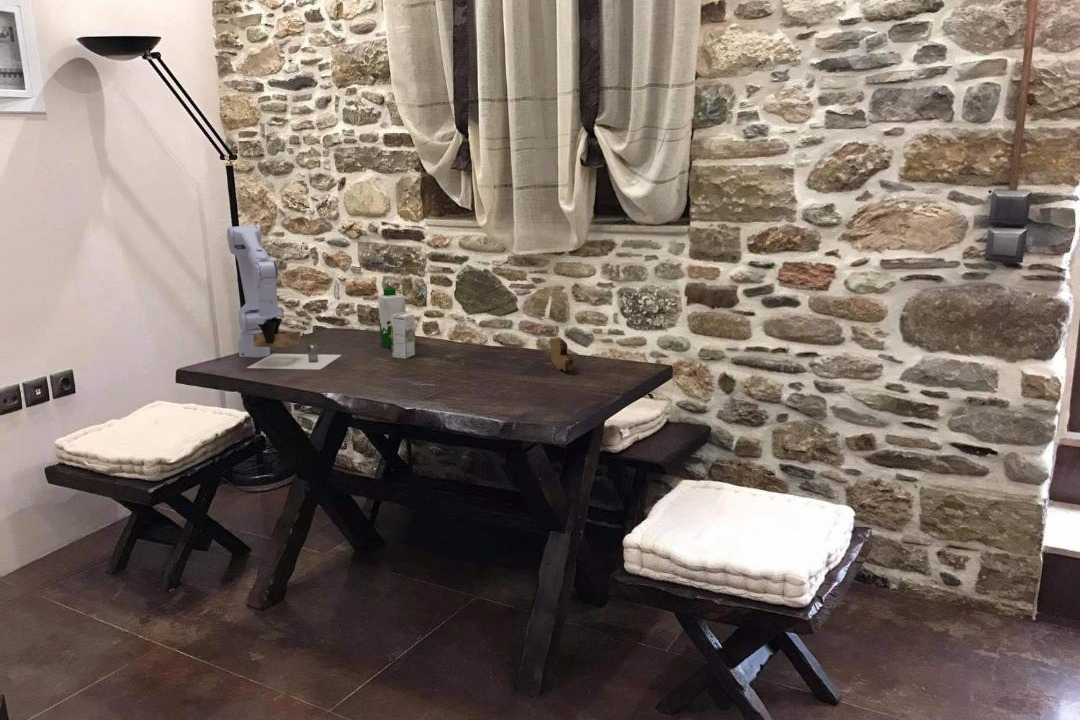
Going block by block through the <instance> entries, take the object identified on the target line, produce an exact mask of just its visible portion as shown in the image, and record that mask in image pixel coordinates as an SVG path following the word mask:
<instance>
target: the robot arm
mask: <svg viewBox="0 0 1080 720" xmlns="http://www.w3.org/2000/svg"><path fill="white" fill-rule="evenodd" d="M226 230H227V231H226V236H227V237H226V238H227V243H228V248H229V251H230V254H232V255H234V256H235V258H236V260H237V263H238V268H239V270H238V271H239V275H240V279H241V285H242V290H243V295H244V301H245V303H244V305H242V307H240V309H239V310H238V323H239V327H240V328H239V329H240V330H241V332H240V333H239V335H238V338H237V346H238V355H239V358H263V357H264V358H266V357H268V356H269V355H271V349H270V348H271V347H254V337H253V334H257V333H261V332H263V335H264V338H265V341H266V343H274V334H278V331H280V329H279V328H280V325H281V324H282V321H283V320H282V319H283V318H280V317H282V316H283V313H282V309H279V301H278V291H277V290H278V289H277V279H278V277H279V269H278V265H277V262H276V260H275V259H271V258H270V256H269V254H268V253H267V250H266V249H265V248H263V247H261V241H262V232H261V228H260V227H259V225H257V224H255V225H243V226H238V225H237V226H231V225H230V226H228V228H227V229H226Z"/></svg>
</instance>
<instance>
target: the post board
mask: <svg viewBox="0 0 1080 720" xmlns="http://www.w3.org/2000/svg"><path fill="white" fill-rule="evenodd" d="M341 356H342V354H319V352H318V345H317V344H308V345H307V353H270V355H268V356H265V357H264V358H262V359H261V360H259V361H257V362H255V363H253V364H251V365H249V366H247V367H246V369H271V370H272V369H277V370H281V369H282V370H321V369H323V368H325V367H326V366H327V365H330V363H332V362H334V361H335V360H337V359H339V358H340V357H341Z"/></svg>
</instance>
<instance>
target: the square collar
mask: <svg viewBox="0 0 1080 720" xmlns="http://www.w3.org/2000/svg"><path fill="white" fill-rule="evenodd" d="M301 335H302V333H301V331H299V330H297V331H296V330H294V331H293V330H292V331H291V330H278V334H274V343H266V341H265V338H264V335H263V332H261V333H257V334H253V337H254V347H270V348H289V347H290V348H291V347H294V346H297V345H301V344H302V336H301Z"/></svg>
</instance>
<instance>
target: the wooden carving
mask: <svg viewBox="0 0 1080 720" xmlns="http://www.w3.org/2000/svg"><path fill="white" fill-rule="evenodd" d="M549 347H550V348H549V349H548V352H549V353H550V359H551V363H552V364H553V365H554V366H555V368H556V369H557V370H559V371H561V370H562V371H564V372H568V371H572V370H573V366H574V358H573V356H572V354H570V353H568V348H569V347H568V344H567V341H565V340H564V339H562V338H561V337H559V336H558V337H552V338H551V337H550V338H549Z"/></svg>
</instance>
